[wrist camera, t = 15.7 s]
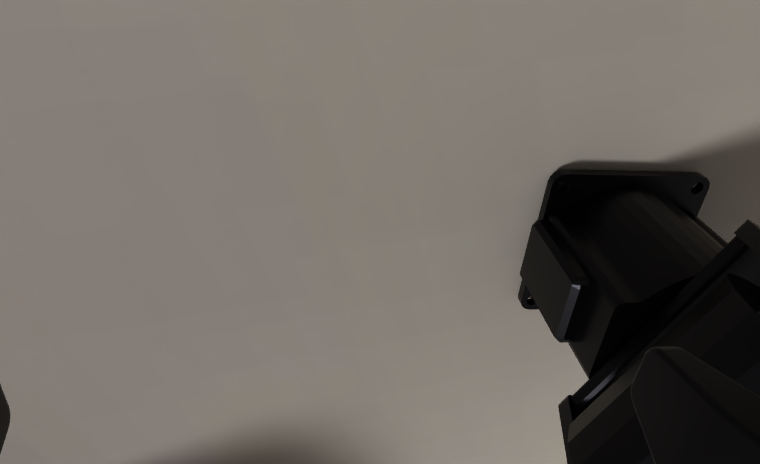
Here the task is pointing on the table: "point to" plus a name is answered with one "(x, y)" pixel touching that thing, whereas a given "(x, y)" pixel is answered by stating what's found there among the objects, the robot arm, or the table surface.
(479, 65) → the table surface
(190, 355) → the table surface
